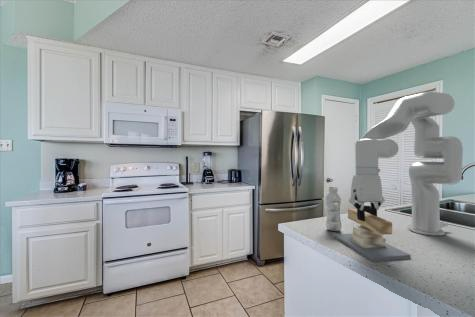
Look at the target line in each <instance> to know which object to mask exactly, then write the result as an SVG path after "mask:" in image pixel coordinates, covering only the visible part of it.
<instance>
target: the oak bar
mask: <svg viewBox="0 0 475 317" xmlns="http://www.w3.org/2000/svg"><path fill="white" fill-rule="evenodd" d="M347 219H348V220H350V221H353V222H355V223H357V224H359V225H360V226H361V225H363V226H365V227H366V228H368V229H370V230H372V231H374V232H376V233H378V234H380V235H382V236H383V235H384V236H385V235H393V221H390V220H387V219H385V218H382V217H380V216H378V215H377V216H375V215H372V214H370V213H367V212H365V221H361V220H358V219H357V209H356V208H348V209H347Z"/></svg>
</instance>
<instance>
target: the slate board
mask: <svg viewBox="0 0 475 317" xmlns="http://www.w3.org/2000/svg"><path fill="white" fill-rule="evenodd" d="M333 238H334V239H335V240H337V241H338V242H340V243H342V244H344V245H346V246H347V247H348V248H350V249H352V250H353V251H355V252H356V253H358V254H359V255H362V256H363V257H364V258H366V259H368V260H369V261H370V262H374V263H375V262H381V261H382V262H383V261H394V260H408V259H411V257H412V256H411V254H410V253H409V252H408V253H407V251H403V250H402V249H399V248H397V247H395V246H393V245H391V244H388V243H387V242H386V246H384V247H370V248H362V247H361V246H359V245H357V244H355V243H354V242H352V241H351V233H338V234H333Z"/></svg>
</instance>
